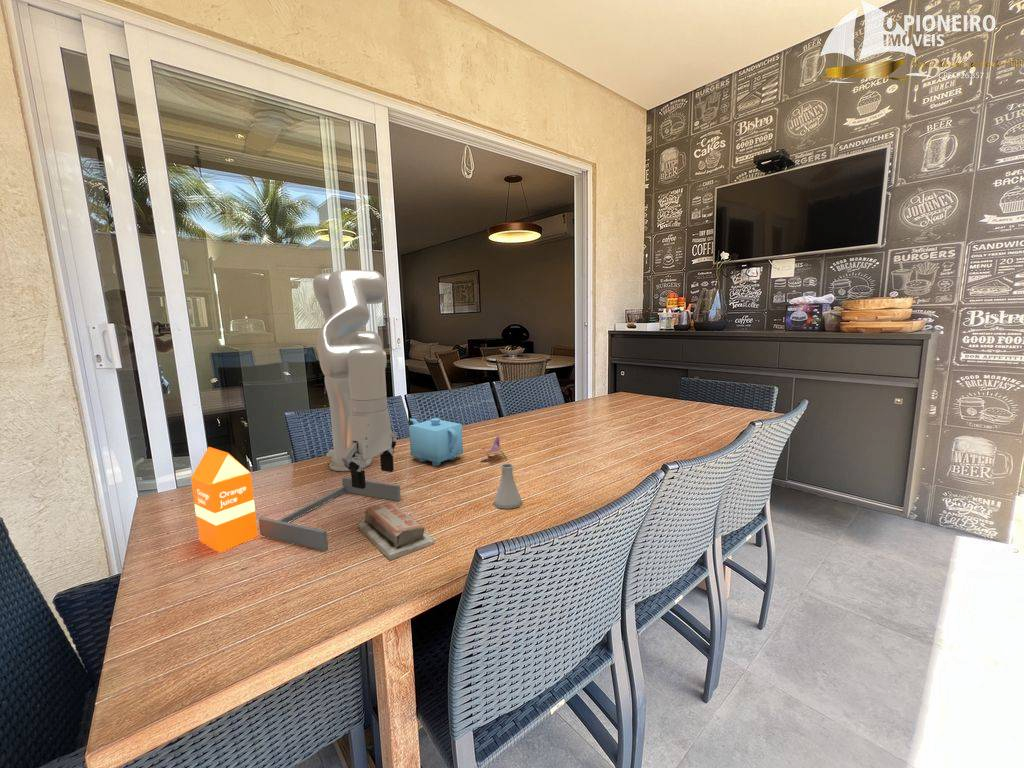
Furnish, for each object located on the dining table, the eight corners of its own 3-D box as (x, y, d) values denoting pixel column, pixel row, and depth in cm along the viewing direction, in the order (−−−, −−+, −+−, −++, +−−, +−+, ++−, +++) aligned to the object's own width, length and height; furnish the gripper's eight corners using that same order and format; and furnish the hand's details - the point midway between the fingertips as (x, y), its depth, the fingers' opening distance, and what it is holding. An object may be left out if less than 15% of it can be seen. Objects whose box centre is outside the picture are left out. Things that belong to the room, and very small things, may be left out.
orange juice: (219, 553, 85) (206, 458, 82) (199, 542, 90) (186, 451, 87) (259, 536, 92) (248, 447, 89) (238, 526, 97) (227, 441, 94)
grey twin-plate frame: (260, 536, 92) (258, 518, 92) (345, 490, 116) (344, 476, 115) (324, 551, 86) (323, 532, 85) (400, 499, 109) (399, 485, 109)
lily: (502, 454, 148) (488, 431, 147) (525, 447, 140) (510, 423, 139) (481, 474, 139) (466, 450, 138) (505, 468, 131) (489, 443, 130)
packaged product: (355, 508, 95) (397, 496, 101) (356, 528, 96) (398, 515, 102) (388, 539, 81) (434, 523, 87) (389, 563, 82) (435, 545, 88)
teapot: (469, 460, 139) (467, 419, 137) (444, 470, 130) (442, 426, 128) (424, 448, 152) (422, 410, 150) (399, 456, 144) (396, 417, 141)
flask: (492, 498, 110) (491, 461, 108) (520, 496, 110) (519, 459, 109) (494, 510, 103) (493, 471, 101) (523, 509, 103) (523, 469, 102)
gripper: (380, 395, 102) (384, 463, 105) (325, 412, 86) (332, 492, 89) (406, 398, 99) (410, 467, 102) (355, 416, 83) (361, 497, 86)
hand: (373, 478), depth 96 cm, fingers open, 9 cm apart
